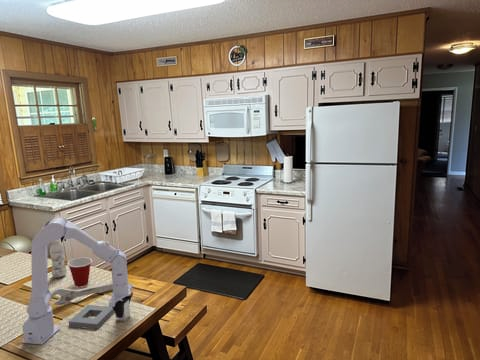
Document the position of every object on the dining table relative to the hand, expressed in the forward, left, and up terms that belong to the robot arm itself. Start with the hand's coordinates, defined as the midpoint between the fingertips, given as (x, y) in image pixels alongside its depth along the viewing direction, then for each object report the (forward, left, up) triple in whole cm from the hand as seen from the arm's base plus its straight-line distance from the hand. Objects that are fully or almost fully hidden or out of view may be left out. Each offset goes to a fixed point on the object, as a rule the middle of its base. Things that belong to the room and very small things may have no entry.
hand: (122, 314), depth 130 cm
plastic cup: (+24, +35, -2) cm, 42 cm away
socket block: (-2, +12, -2) cm, 12 cm away
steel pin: (0, 0, -2) cm, 2 cm away
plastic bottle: (+30, +52, -2) cm, 60 cm away
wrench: (+13, +24, -2) cm, 27 cm away
